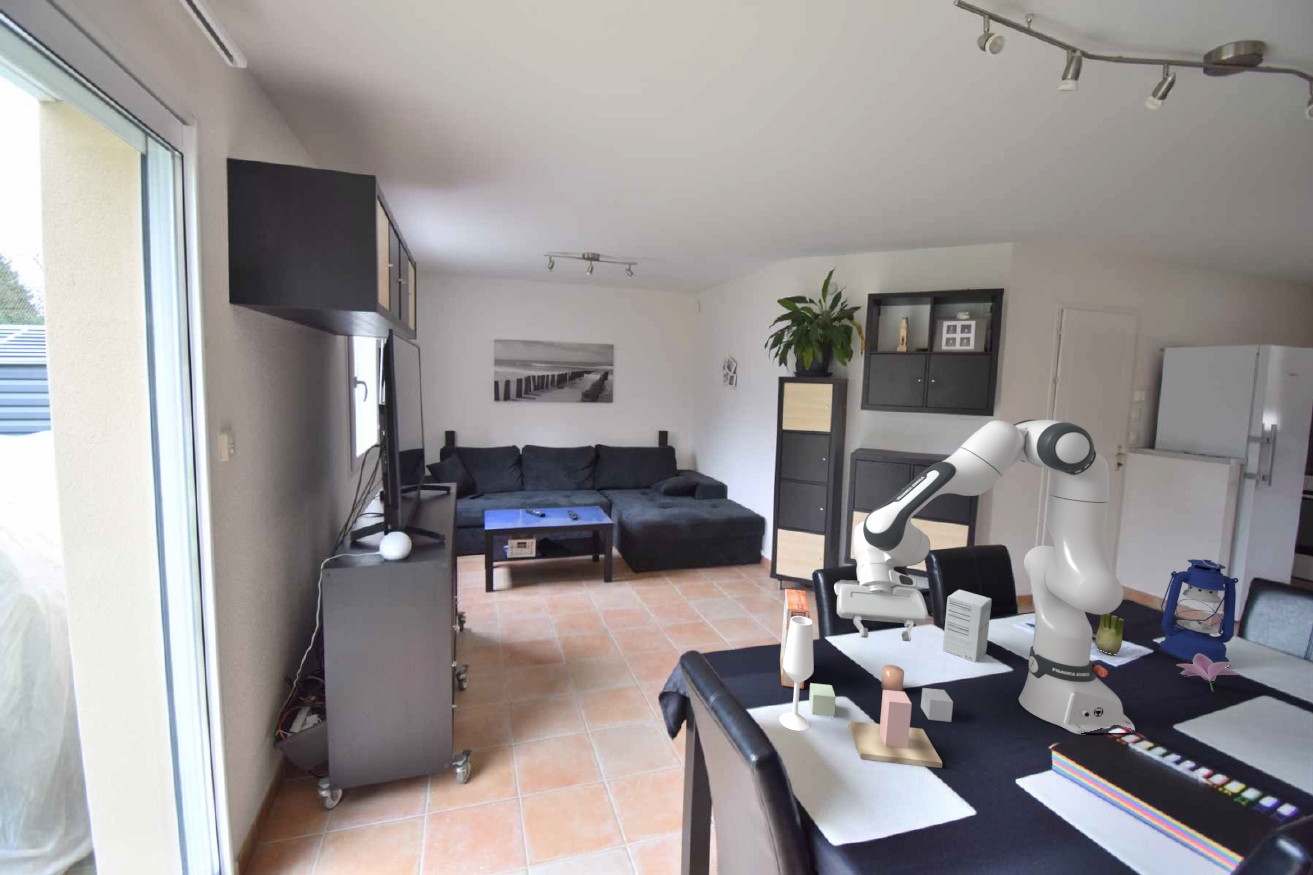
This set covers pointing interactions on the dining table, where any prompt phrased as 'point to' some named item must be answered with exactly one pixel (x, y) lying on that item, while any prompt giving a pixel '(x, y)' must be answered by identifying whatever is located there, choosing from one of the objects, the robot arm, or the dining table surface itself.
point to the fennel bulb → (1109, 634)
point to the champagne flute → (798, 666)
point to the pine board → (875, 748)
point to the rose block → (895, 719)
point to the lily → (1206, 668)
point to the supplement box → (967, 624)
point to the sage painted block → (822, 700)
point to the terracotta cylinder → (892, 678)
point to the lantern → (1205, 588)
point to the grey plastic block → (936, 704)
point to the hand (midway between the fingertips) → (885, 638)
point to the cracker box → (792, 607)
